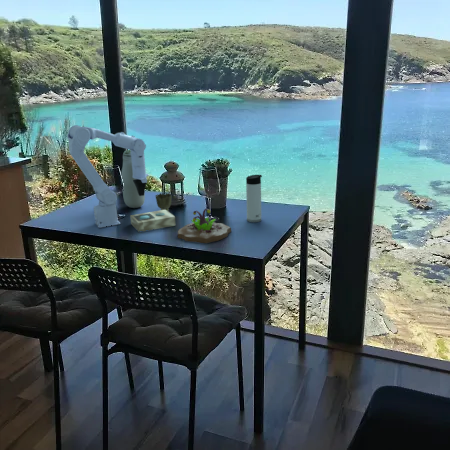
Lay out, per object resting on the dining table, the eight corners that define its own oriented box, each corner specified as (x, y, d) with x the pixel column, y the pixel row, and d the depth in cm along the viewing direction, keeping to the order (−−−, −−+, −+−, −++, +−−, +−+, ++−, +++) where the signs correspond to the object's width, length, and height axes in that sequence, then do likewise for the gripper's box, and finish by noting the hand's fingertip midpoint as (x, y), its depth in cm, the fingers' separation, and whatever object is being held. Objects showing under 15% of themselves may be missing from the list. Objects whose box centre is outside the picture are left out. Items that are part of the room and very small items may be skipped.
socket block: (139, 232, 200) (138, 222, 198) (131, 224, 210) (130, 214, 209) (175, 225, 206) (174, 216, 205) (165, 217, 217) (165, 209, 215)
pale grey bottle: (121, 209, 231) (114, 151, 222) (131, 203, 240) (125, 147, 231) (140, 211, 228) (134, 152, 219) (149, 204, 237) (144, 148, 228)
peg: (142, 227, 204) (141, 218, 203) (139, 224, 208) (138, 216, 206) (151, 225, 206) (150, 217, 205) (148, 223, 209) (147, 214, 208)
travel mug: (261, 222, 206) (260, 176, 199) (245, 222, 207) (244, 176, 201) (263, 218, 212) (262, 173, 205) (248, 217, 213) (247, 173, 206)
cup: (174, 208, 229) (172, 192, 227) (170, 213, 223) (169, 196, 220) (158, 209, 230) (157, 192, 228) (155, 213, 223) (153, 197, 221)
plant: (210, 247, 182) (209, 218, 179) (170, 238, 192) (168, 211, 189) (238, 231, 198) (237, 205, 195) (199, 224, 208) (197, 199, 205)
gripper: (152, 167, 208) (155, 197, 212) (142, 161, 220) (145, 190, 225) (136, 169, 205) (139, 200, 209) (127, 163, 217) (130, 192, 222)
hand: (141, 195), depth 217 cm, fingers closed
